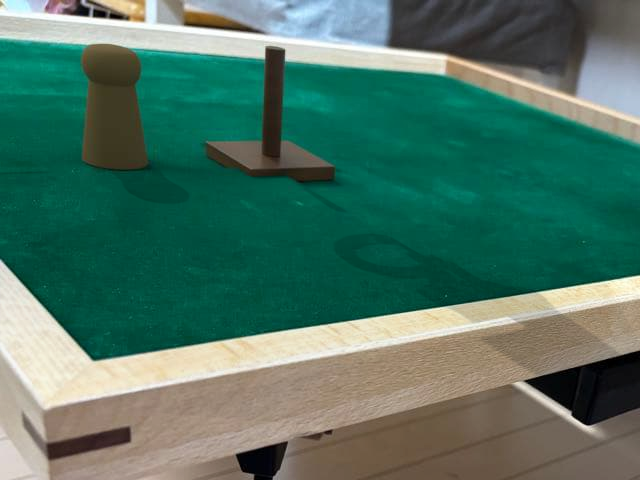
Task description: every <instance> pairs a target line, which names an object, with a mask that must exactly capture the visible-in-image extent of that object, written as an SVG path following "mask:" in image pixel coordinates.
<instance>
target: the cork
mask: <svg viewBox="0 0 640 480" xmlns="http://www.w3.org/2000/svg"><path fill="white" fill-rule="evenodd" d="M80 65H81V68H82V72H83V74H84V75H85V76H86V78H87V79H88V84H87V95H86V105H85V119H84V127H83V140H82V149H81V150H82V151H81V160H82V162H83V163H86V164H87V165H90V166H92V167H93V166H94V167H97V168H101V169H108V170H118V171H120V170H121V171H129V170H130V171H131V170H139V169H144V168H146V167H147V166H148V165H149V160H148V154H147V153H148V152H147V148H146V147H147V146H146V141H145V135H144V130H143V123H142V116H141V110H140V104H139V98H138V92H137V86H136V85H137V83H138V82H139V81H140V78H141V74H142V63H141V59H140V57H139V56H138V54H137V53H136V52H135V51H134V50H132V49H130V48H128V47H124V46H122V45H118V44H114V43H91V44H89V45H87V46H85V48H84V49H83V50H82V53H81V57H80Z"/></svg>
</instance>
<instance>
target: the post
mask: <svg viewBox="0 0 640 480" xmlns="http://www.w3.org/2000/svg"><path fill="white" fill-rule="evenodd" d="M286 51H287V50H286V48H283V47H280V46H275V45H266V46H265V48H264V75H263V97H262V98H263V99H262V100H263V101H262V103H263V104H262V126H261V127H262V128H261V140H238V141H237V140H235V141H233V140H232V141H231V140H230V141H228V140H227V141H221V140H219V141H205V156H206V157H208V158H210V159H211V160H213V161H214V162H216V163H218V164H220V165H221V166H222V167H224V168H226V169H233V168H234V169H238V170H239V171H242V172H243V173H245V174H246V175H247V176H249V177H270V176H271V177H272V176H273V177H274V176H287V177H289V178H291V179H292V180H294V181H295V182H309V181H310V182H311V181H331V180H333V181H334V180H335V177H336V176H335V174H336V166H335V165H333V164H332V163H329V162H328V161H326V160H324V159H323V158H321V157H318V156H317V155H315V154H313V153H311V152H309V151H308V150H306V149H304V148H302V147H300V146H298V145H297V144H295V143H293V142H291V141H289V140H282V134H283V133H282V131H283V112H284V111H283V110H284V91H285V90H284V89H285V70H286V69H285V68H286Z"/></svg>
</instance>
